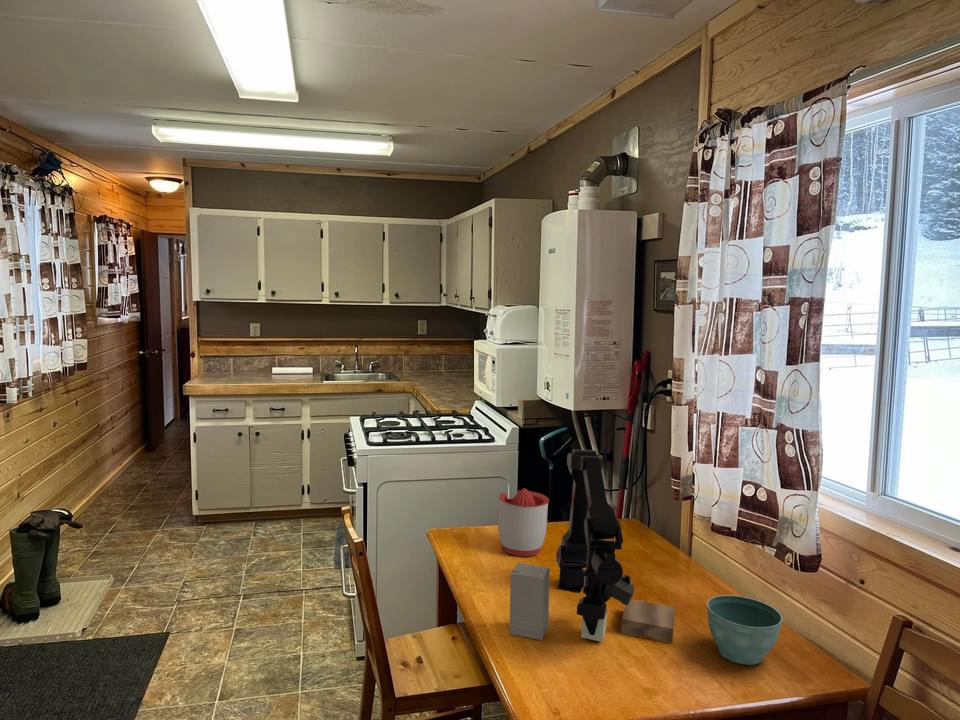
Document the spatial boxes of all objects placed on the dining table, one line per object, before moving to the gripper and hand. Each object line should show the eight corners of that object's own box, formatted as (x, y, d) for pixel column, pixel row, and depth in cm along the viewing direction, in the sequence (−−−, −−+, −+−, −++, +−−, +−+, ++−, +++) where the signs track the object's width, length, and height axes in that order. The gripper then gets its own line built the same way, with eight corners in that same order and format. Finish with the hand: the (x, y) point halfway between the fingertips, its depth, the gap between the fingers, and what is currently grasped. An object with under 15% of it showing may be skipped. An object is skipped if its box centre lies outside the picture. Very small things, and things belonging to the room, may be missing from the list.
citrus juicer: (522, 536, 226) (526, 477, 224) (555, 555, 212) (560, 492, 210) (483, 543, 218) (486, 482, 216) (514, 563, 204) (518, 498, 201)
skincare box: (548, 629, 165) (552, 566, 163) (541, 643, 158) (545, 577, 157) (514, 622, 168) (518, 559, 166) (506, 635, 161) (510, 570, 159)
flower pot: (688, 645, 161) (692, 601, 160) (735, 631, 169) (739, 589, 168) (744, 681, 147) (749, 633, 146) (793, 664, 155) (798, 619, 154)
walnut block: (620, 634, 165) (621, 618, 165) (625, 613, 177) (627, 598, 176) (672, 644, 162) (673, 628, 161) (673, 622, 173) (675, 607, 173)
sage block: (581, 637, 161) (582, 612, 160) (584, 627, 165) (586, 603, 165) (602, 641, 159) (604, 617, 159) (605, 631, 164) (607, 607, 163)
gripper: (629, 588, 149) (623, 656, 151) (637, 557, 167) (631, 618, 169) (578, 579, 153) (573, 645, 154) (591, 550, 170) (586, 610, 172)
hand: (593, 629), depth 162 cm, fingers closed on sage block, 5 cm apart
